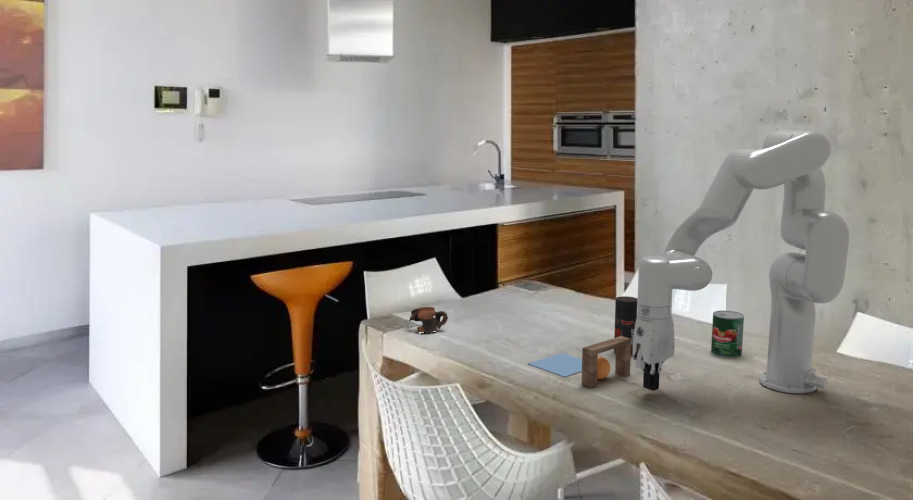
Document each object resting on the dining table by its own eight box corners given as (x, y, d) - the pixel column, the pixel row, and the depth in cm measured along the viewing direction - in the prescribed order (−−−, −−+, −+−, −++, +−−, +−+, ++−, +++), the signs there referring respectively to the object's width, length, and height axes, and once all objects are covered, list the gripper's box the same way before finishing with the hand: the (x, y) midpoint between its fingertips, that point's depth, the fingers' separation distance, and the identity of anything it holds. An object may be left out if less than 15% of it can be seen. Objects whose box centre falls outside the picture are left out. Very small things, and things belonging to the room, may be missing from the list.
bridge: (629, 374, 182) (631, 338, 181) (591, 388, 173) (592, 350, 172) (620, 371, 185) (621, 336, 183) (581, 384, 176) (582, 347, 174)
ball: (613, 380, 180) (616, 359, 178) (598, 385, 176) (601, 364, 175) (596, 371, 184) (599, 351, 182) (581, 376, 180) (584, 355, 179)
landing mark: (599, 365, 189) (599, 365, 189) (565, 377, 181) (565, 376, 181) (562, 353, 199) (562, 353, 199) (527, 364, 191) (527, 363, 191)
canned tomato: (740, 350, 200) (742, 311, 198) (743, 359, 193) (745, 319, 191) (709, 348, 203) (711, 309, 201) (711, 357, 195) (713, 317, 193)
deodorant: (620, 348, 203) (621, 295, 201) (640, 352, 199) (642, 298, 197) (609, 353, 199) (611, 299, 196) (630, 357, 195) (632, 302, 192)
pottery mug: (408, 336, 217) (404, 309, 220) (417, 341, 226) (413, 316, 229) (447, 327, 215) (442, 300, 218) (454, 333, 224) (450, 307, 227)
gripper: (647, 320, 158) (644, 401, 161) (687, 308, 167) (684, 385, 171) (619, 313, 164) (617, 391, 167) (660, 302, 173) (656, 376, 176)
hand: (650, 388), depth 169 cm, fingers closed
